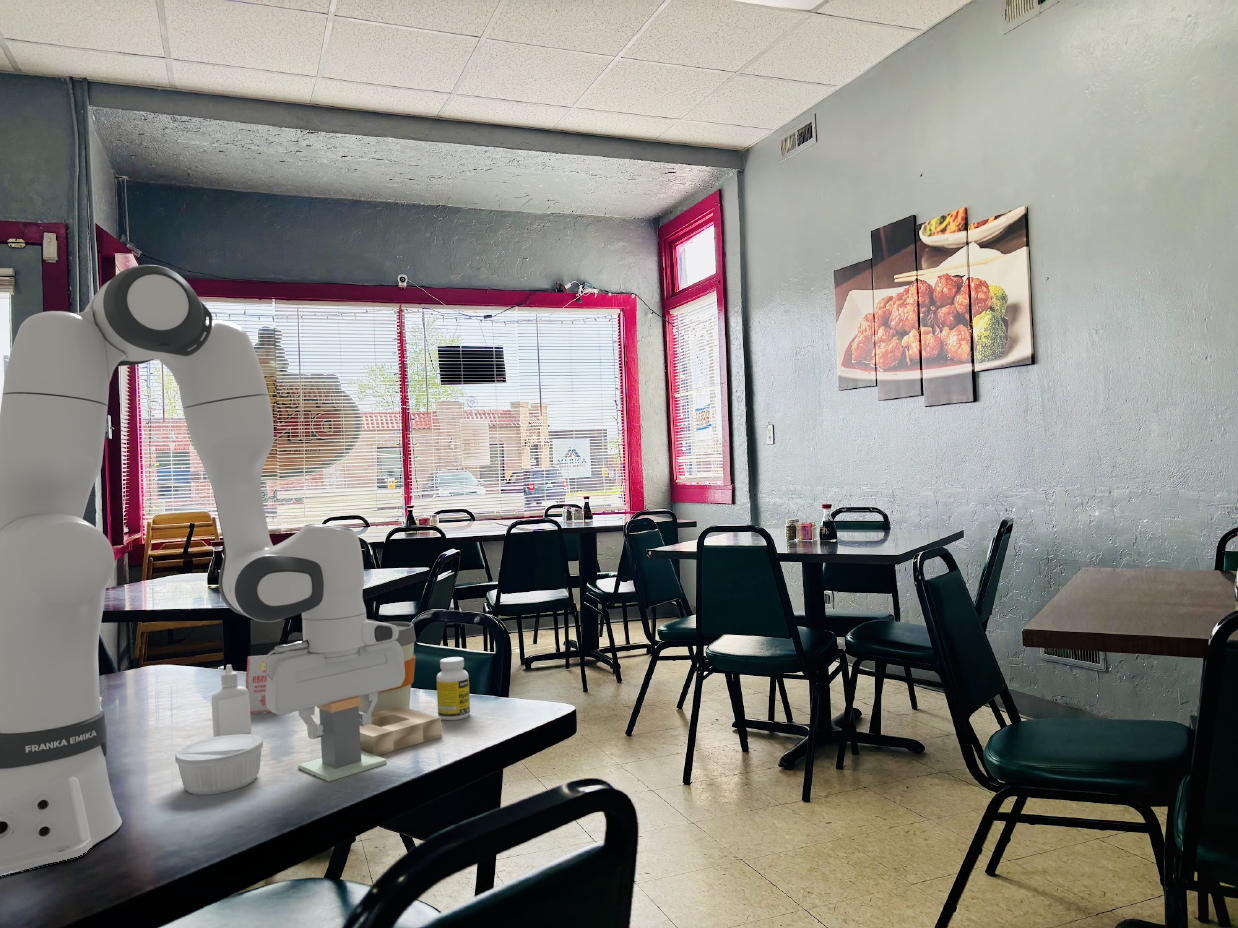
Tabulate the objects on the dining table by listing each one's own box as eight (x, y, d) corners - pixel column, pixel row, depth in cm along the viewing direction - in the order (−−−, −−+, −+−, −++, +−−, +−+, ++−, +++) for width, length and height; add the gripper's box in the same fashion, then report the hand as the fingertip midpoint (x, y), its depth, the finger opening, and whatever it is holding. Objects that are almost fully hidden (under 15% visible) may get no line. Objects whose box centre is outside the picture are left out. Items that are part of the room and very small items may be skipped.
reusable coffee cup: (430, 703, 162) (426, 620, 162) (402, 723, 150) (397, 633, 150) (366, 703, 165) (361, 622, 165) (332, 723, 152) (327, 635, 152)
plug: (335, 769, 126) (331, 703, 126) (320, 763, 129) (316, 699, 129) (363, 760, 129) (359, 697, 129) (348, 755, 132) (344, 692, 132)
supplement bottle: (463, 721, 149) (460, 662, 149) (433, 721, 150) (430, 662, 150) (475, 712, 155) (472, 655, 155) (445, 712, 156) (442, 655, 156)
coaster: (328, 781, 123) (328, 777, 123) (298, 768, 129) (298, 764, 129) (386, 763, 129) (386, 759, 129) (355, 751, 135) (355, 747, 135)
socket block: (373, 756, 133) (372, 736, 133) (334, 742, 141) (333, 723, 141) (441, 736, 141) (440, 717, 141) (400, 723, 150) (399, 705, 150)
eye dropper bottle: (250, 739, 145) (246, 665, 145) (212, 744, 144) (208, 669, 144) (252, 732, 150) (248, 660, 150) (215, 737, 148) (211, 664, 148)
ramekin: (181, 804, 117) (179, 764, 117) (172, 782, 126) (170, 744, 126) (272, 784, 123) (270, 746, 123) (257, 764, 132) (255, 728, 132)
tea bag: (254, 708, 166) (251, 654, 166) (291, 705, 166) (288, 651, 166) (247, 713, 162) (244, 658, 162) (285, 711, 163) (282, 656, 163)
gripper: (274, 650, 119) (280, 753, 119) (407, 625, 134) (412, 717, 134) (254, 645, 124) (259, 745, 124) (385, 622, 138) (390, 711, 138)
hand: (340, 730), depth 129 cm, fingers open, 6 cm apart
